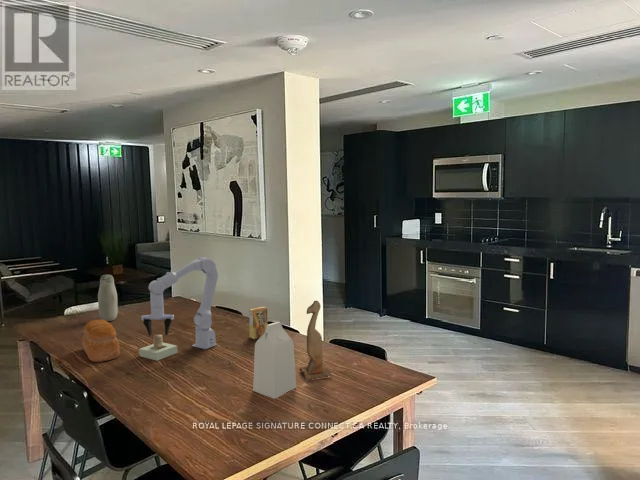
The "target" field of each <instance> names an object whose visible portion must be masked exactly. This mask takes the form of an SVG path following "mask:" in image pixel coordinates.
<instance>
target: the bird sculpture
mask: <svg viewBox="0 0 640 480" xmlns="http://www.w3.org/2000/svg"><path fill="white" fill-rule="evenodd" d="M321 306H322V305H321V303H320V302H319V301H318V300H314V301H313V303H312V304H310V305H309V306H308V307H307V309H306V315H309V314H311V317H310V320H309V323H308V326H307V330H306V352H307V355H308V358H309V361H308V364H307V366H303V367H299V372H300V371H301V372H302V373H303V374H304V376H305V381H306V380H311V381H312V379H317V378H322V377H328V376H331V377H332V372H331V371H330V370H329V368H328V367H327V366H326V364H323V363H324V362H323V359H324V358H323V337H322V334H321V333H320V332H319V331H318V330H317V329H316V325H317V324H316V323H317V319H318V315H319V312H320V310H321Z"/></svg>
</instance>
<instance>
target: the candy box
mask: <svg viewBox="0 0 640 480" xmlns="http://www.w3.org/2000/svg"><path fill="white" fill-rule="evenodd" d="M248 311H249V312H248V316H249V338H250V339H253V340H255V339H259V338H260V337H261V336H262V335H263V334H264V333H265V331H266V327H267V325H268V307H266V306H259V307H254V308H250V309H249V310H248Z"/></svg>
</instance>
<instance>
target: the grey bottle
mask: <svg viewBox="0 0 640 480" xmlns="http://www.w3.org/2000/svg"><path fill="white" fill-rule="evenodd" d="M97 305H98V315H99V318H100V319H103V320H106V321H107V322H112V321H114V320H115V319H116V318H117V317H118V314H119V313H118V311H119V310H118V309H119V308H118V293H117V289H116V285H115V279H114V277H113V275H112V274H103V275H101V276H100V278H99V288H98V293H97Z"/></svg>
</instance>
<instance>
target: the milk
mask: <svg viewBox="0 0 640 480" xmlns="http://www.w3.org/2000/svg"><path fill="white" fill-rule="evenodd" d="M294 346H295V345H294V341H293V340H292V338H291V336H290V335H289V334H288V333H287V331H285V329H284V328H283V325H282V322H280V321H276V322H272V323H269V324H267V327H266V331H265V333H264V334H263V335H262V336H261V337H260V338H257V341H256V342H255V344H254V357H253V358H254V359H253V361H254V362H253V384H252V388H253V389H252V391H253V392H255V393H258V394H261V395H264V396H266V397H268V398H272V399H274V400H275V399H277V398H279V397H281V396H284V395H285V394H287V393H286V392H288V391H290V390H292V389H294V388H296V389H297V377H296V376H297V375H296V364H295V363H296V361H295V347H294ZM294 390H295V389H294ZM292 391H293V390H292ZM290 392H291V391H290ZM284 393H285V394H284ZM288 393H289V392H288Z"/></svg>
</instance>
